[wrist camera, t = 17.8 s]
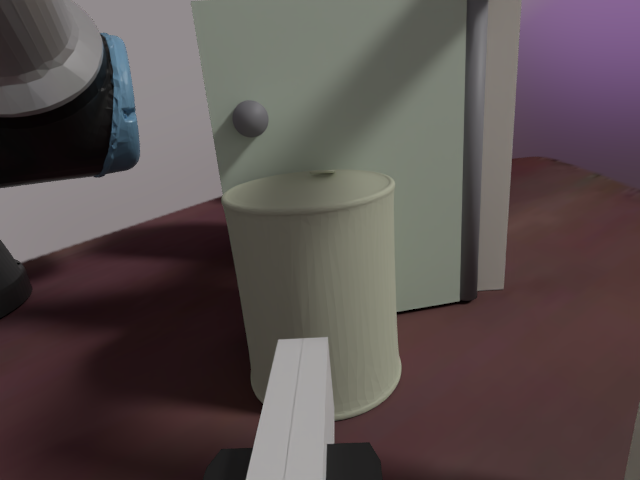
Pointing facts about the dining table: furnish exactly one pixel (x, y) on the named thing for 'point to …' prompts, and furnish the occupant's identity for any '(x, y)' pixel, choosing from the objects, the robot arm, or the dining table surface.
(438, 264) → the door
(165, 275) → the dining table surface
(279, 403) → the robot arm
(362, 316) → the can
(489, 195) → the door frame
